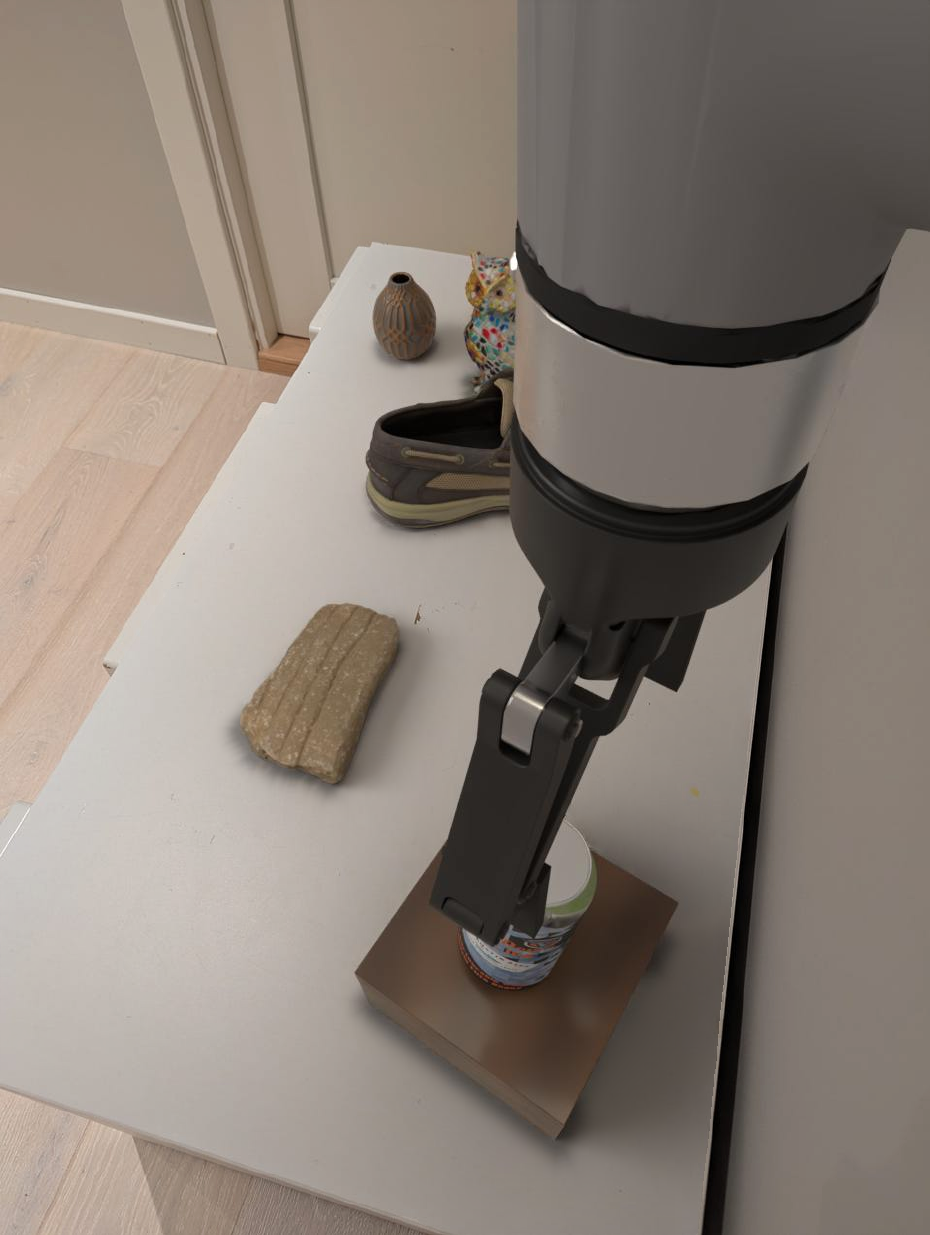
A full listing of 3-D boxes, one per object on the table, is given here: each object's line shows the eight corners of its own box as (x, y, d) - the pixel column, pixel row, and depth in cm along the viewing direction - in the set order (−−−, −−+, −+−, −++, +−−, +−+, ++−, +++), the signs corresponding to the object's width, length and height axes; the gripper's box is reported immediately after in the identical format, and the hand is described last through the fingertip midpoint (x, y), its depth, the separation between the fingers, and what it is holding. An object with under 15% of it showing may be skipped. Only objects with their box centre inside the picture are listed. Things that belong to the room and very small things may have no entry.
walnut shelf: (658, 939, 59) (679, 902, 52) (554, 1140, 52) (564, 1125, 45) (484, 832, 63) (484, 785, 57) (369, 1003, 57) (353, 972, 50)
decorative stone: (412, 632, 74) (409, 608, 71) (341, 794, 65) (334, 774, 62) (306, 605, 76) (299, 580, 73) (224, 758, 67) (213, 737, 64)
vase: (386, 326, 99) (378, 255, 92) (444, 334, 98) (441, 263, 91) (368, 363, 95) (358, 292, 88) (428, 372, 94) (423, 301, 87)
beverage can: (437, 937, 51) (426, 865, 41) (527, 857, 54) (536, 772, 44) (509, 1023, 48) (515, 968, 39) (600, 935, 51) (627, 862, 41)
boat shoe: (678, 480, 84) (700, 392, 75) (390, 561, 79) (378, 477, 70) (628, 410, 90) (643, 321, 81) (358, 481, 85) (343, 394, 76)
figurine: (469, 420, 90) (466, 291, 77) (461, 365, 95) (457, 236, 83) (551, 413, 90) (561, 284, 78) (539, 359, 95) (546, 230, 83)
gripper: (719, 161, 29) (636, 566, 46) (207, 717, 17) (353, 985, 34) (950, 221, 26) (771, 626, 43) (544, 927, 14) (518, 1102, 31)
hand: (588, 784), depth 39 cm, fingers open, 13 cm apart
